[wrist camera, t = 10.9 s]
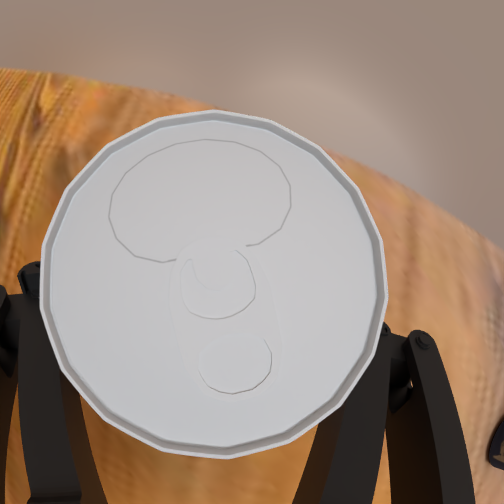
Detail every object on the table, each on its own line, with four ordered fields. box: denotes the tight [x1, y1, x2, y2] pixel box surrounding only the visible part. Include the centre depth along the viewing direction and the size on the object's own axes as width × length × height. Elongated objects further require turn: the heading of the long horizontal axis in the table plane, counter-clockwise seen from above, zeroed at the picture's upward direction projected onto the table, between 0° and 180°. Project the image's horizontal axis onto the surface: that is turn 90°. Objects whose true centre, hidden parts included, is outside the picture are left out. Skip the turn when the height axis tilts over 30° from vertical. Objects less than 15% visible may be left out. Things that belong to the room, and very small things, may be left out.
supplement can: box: [40, 109, 388, 459], centre depth 13 cm, size 8×8×15 cm
